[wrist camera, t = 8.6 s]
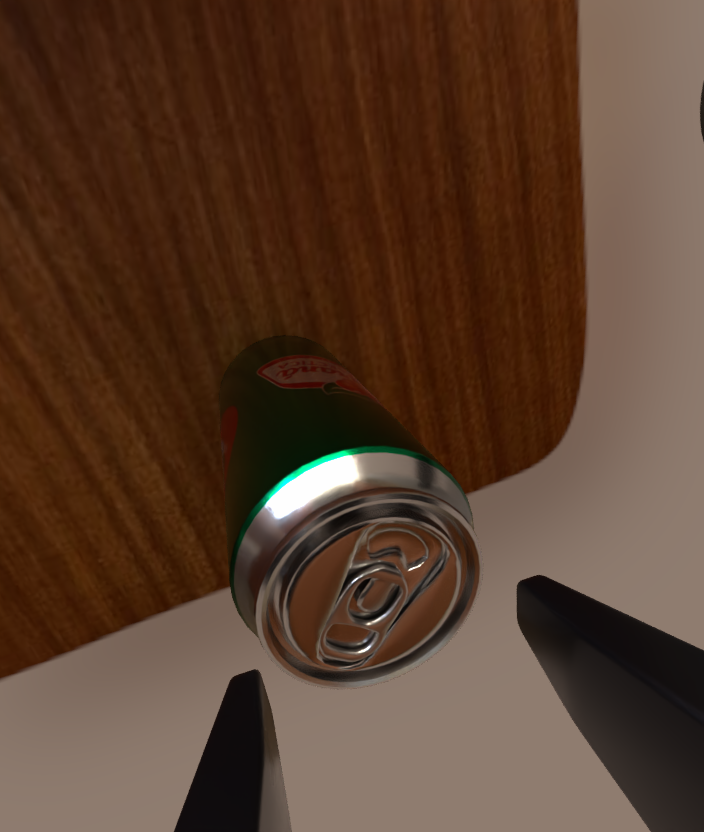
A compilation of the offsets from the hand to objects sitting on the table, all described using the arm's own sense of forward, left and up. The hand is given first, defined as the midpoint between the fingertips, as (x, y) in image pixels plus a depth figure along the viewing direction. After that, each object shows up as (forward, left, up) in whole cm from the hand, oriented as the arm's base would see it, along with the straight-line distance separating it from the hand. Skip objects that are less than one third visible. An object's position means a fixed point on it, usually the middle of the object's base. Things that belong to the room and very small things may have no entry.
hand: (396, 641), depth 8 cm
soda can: (0, 0, -13) cm, 13 cm away
